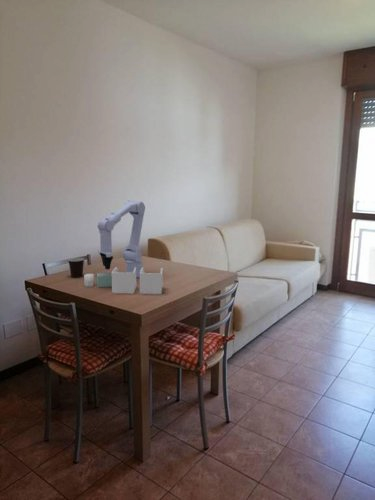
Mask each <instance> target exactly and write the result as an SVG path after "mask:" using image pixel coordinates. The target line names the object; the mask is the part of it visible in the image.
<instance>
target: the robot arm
mask: <svg viewBox="0 0 375 500" xmlns="http://www.w3.org/2000/svg"><path fill="white" fill-rule="evenodd" d="M145 209H146V206H145V204H144V202H143V201H135V200H127V201H126V202H125V203H124V205H123V206H122V207H121V208H120V209H119V210H118V211H114V212H110V214H109V215H108V216H107V217H105V218H104V219H101V220H100V221H98V223H97V229H98V230H99V231H98V233H99V235H100V236H99V237H100V240H99V241H100V250H98V251H97V252H98V253H99V255H100V258H101V261H102V265H103V267H104V269H105V270H110V268H111V264H112V261H113V259H114V256H111V254H112V252H113V250H112V247H113V246H112V231H113V230H114V227H115V226H116V225H117V224H118V223H119V222H121V221H122V218H123V216H125V215H127V214H128V213H129V215H131V216H132V217H133V220H132V227H131V231H130V232H131V233H130V237H129V238H130V239H129V243H128V244H127V245H126V246H125V249H124V251H123V255H122V258H123V259H124V261H125V263H126V265H125V273H133V272H134V267H136V279H137V278H139V279H140V271H141V269H142V268H144V267H143V266H144V265H143V264H144V263H143V261H141V260H142V259H143V258H142V257H143V255H142V251H143V250H142V249H141V247H140V246H139V244H140V239H141V234H142V228H143V222H144V216H145Z"/></svg>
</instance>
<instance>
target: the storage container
mask: <svg viewBox="0 0 375 500" xmlns="http://www.w3.org/2000/svg"><path fill="white" fill-rule="evenodd" d="M163 270H164V268H163V267H160V273H159V272H155V273H154V272H147V273H146V272H145V267H143V268H142V269H141V271H140V277H139V294H141V295H142V294H144V295H145V294H146V295H162V292H163V279H164V278H163ZM118 271H119V269H118V266H115V267H113V270H112V271H111V273H112V286H111V293H112V294H135V291H136V288H137V278H136V267H134V272H133V273H126V272H118Z"/></svg>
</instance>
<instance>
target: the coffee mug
mask: <svg viewBox="0 0 375 500" xmlns="http://www.w3.org/2000/svg"><path fill="white" fill-rule="evenodd" d="M84 264H85V258H83V257H82V258H81V257H71V258H68V265H69V266H68V267H69V271H70V277H71V278H72V279H78V278H82V277H84V274H83V273H84Z"/></svg>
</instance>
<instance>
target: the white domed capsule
mask: <svg viewBox="0 0 375 500" xmlns="http://www.w3.org/2000/svg"><path fill="white" fill-rule="evenodd" d="M83 279H84V281H83V283H84V287H85V288H90V287H91V288H92V287H94V286H95V274H94V273H85V274H83Z"/></svg>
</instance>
